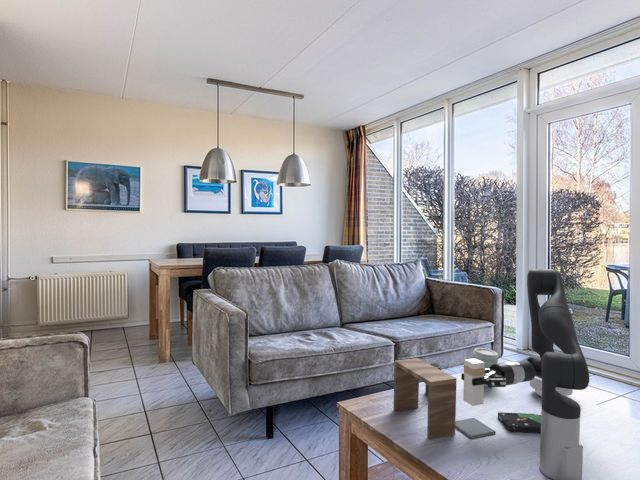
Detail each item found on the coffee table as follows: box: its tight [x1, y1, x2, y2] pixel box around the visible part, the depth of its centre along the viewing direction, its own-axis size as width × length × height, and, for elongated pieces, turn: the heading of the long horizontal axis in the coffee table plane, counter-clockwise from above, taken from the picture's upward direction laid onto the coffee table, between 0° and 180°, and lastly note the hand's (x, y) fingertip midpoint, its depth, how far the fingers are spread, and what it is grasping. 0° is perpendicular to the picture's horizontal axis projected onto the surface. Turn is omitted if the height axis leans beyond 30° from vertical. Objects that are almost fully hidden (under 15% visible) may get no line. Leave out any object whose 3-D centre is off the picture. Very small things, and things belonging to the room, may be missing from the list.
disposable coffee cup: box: [472, 347, 499, 388], centre depth 176 cm, size 11×11×15 cm
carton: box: [462, 357, 485, 407], centre depth 136 cm, size 5×5×14 cm
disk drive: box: [497, 412, 541, 435], centre depth 139 cm, size 10×3×15 cm
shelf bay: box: [392, 357, 458, 440], centre depth 141 cm, size 22×10×18 cm, turn 21°
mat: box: [455, 417, 496, 439], centre depth 136 cm, size 10×10×1 cm
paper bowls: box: [529, 376, 574, 398], centre depth 165 cm, size 15×15×8 cm
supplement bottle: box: [424, 363, 442, 397], centre depth 164 cm, size 7×7×12 cm
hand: (467, 379), depth 135 cm, fingers closed on carton, 4 cm apart
